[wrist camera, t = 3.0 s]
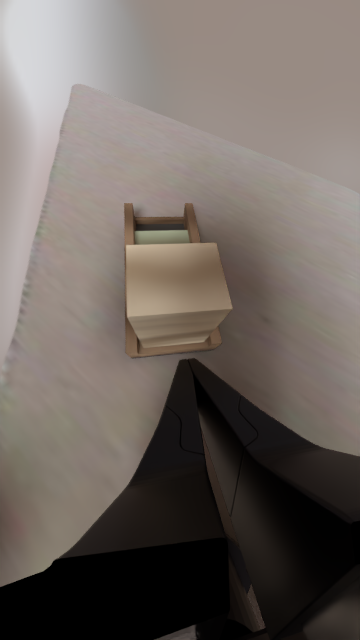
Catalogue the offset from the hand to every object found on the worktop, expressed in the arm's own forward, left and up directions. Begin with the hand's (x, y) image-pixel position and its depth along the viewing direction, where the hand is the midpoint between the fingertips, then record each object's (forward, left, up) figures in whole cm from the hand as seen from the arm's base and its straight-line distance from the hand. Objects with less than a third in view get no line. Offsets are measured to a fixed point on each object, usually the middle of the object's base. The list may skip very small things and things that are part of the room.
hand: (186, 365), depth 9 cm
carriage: (+4, -4, -7) cm, 9 cm away
